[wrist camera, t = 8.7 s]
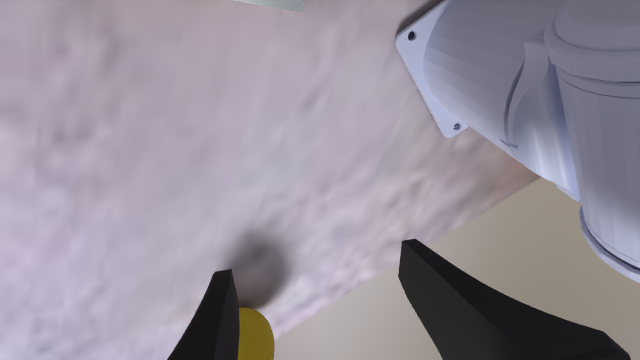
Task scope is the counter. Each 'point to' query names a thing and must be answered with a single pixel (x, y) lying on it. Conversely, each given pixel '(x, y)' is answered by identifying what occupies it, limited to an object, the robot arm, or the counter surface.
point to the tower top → (279, 4)
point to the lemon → (254, 336)
